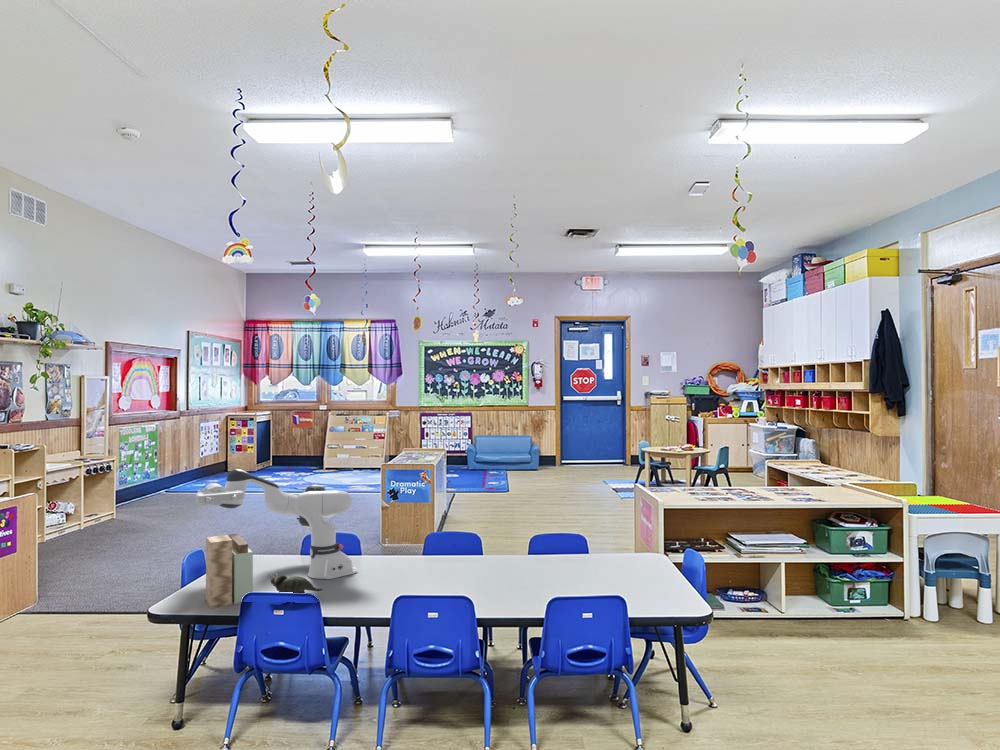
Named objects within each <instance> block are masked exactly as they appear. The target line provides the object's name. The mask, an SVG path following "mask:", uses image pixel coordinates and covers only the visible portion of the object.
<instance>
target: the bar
mask: <svg viewBox="0 0 1000 750" xmlns="http://www.w3.org/2000/svg"><path fill="white" fill-rule="evenodd" d="M228 536H229V537H230V538H231V539H232V547H233V548H234V549H235V550H236V551H237V552H238V553H239V554H241V553H248V548H249V543H248V542H247V541H245V539H244V538H242V537H241V536H240V535H239V534H238V533H232V534H228Z"/></svg>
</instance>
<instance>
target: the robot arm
mask: <svg viewBox="0 0 1000 750" xmlns="http://www.w3.org/2000/svg"><path fill="white" fill-rule="evenodd" d="M226 474H227V475H226V481H225V485H224V486H223V485H221V484H219V483H216V482H215V483H214V482H211V483H208V484H207V485H206V486H205V487H204V488H202V489H198V490H197V491H196V495H195V504H196V505H214V506H219V507H221V508H225V509H226V508H227V509H236V508H239V507H241V506H242V504H243V501H244V499H245V494H246V490H247V487H248V484H249V483H250V484H253V485H255V486H259V487H261V489H262V490H263V493H264V494H263V495H264V503H265V506H266V508H267V509H268V511H269V512H270V513H273V514H276V515H284V516H285V515H286V516H299V517H296V520H298V523H299V524H300V525H301V526H302V527H304V528H305V529H310V538H311V539H310V543H311V544H310V549H309V555H310V556H309V557H310V563H309V568H308V573H307V577H308V578H311V579H317V580H318V579H319V580H321V579H322V580H333V579H337V578H340V577H341V578H342V577H344V576H350V575H354V574H357V573H358V569H357V567H356V566H353V562H352V558H350V556H349V555H347V554H345V553H344V552H343V551H341V550H343V548H344V545H343V544H341V543H338V542H336V540H337V538H336V537H337V534H336V533H337V531H336V526H335V524H333V523H332V522H330V521H328V520H326V519H324V518H332V517H334V516H336V515H339V514H340V515H341V514H345V513H348V512H349V510H350V509H351V507H352V506H353V505H352V504H353V501H352V496H351V494H350V493H349V492H348V491H343V490H338V489H337V490H327V489H326V488H325V487H324V486H322V485H320V484H311V485H308V486H307V487H306V488H305V490H304V491H303V492H299V494H298V495H297V494H294V493H290V492H286V491H285V492H284V491H282V490H281V489H280V488H279V485H278V484H276V483H274V482H272V481H269V480H267V479H264V478H262V477H259V476H257V475H254V474H251V473H249V472H247V471H245V470H243V469H240V468H233V469H232V470H229V472H228V473H226Z"/></svg>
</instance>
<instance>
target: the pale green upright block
mask: <svg viewBox="0 0 1000 750" xmlns="http://www.w3.org/2000/svg"><path fill="white" fill-rule="evenodd" d="M253 556H254V551H252V549H250V548H249V547H248V553H241V554H239V553H238V552H237V551H236V550H235V549H234V548H233V547H232V602H233V605H239V604H242V603H241V600H242V597H243V596H244V595H245V594H246V593H248V592H253V591H254V587H253V586H254V584H253V583H254V582H253V581H254V570H253V569H254V568H253V567H254V566H253V565H254V564H253V562H254V557H253Z"/></svg>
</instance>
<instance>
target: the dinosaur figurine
mask: <svg viewBox="0 0 1000 750" xmlns="http://www.w3.org/2000/svg"><path fill="white" fill-rule="evenodd" d="M274 573H275V576H274V575H273V574H272V575H271V573H270V572H269V573H268V575H269V577H271V578H270V583H271V585H272V587H275V588H276V591H278V592H279V593H280V592H293V593H299V594H300V593H306V592H305V591H313V592H320V591H323V588H317V587H315V586H314V585H313V584H312V583H311V582H310V581H309V580H308V579H307V578H306V577H303V576H297V575H296V576H291V577H289V578H288V577H287V576H286V575H281V576H279V575H278V573H277V572H276V571H274Z"/></svg>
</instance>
